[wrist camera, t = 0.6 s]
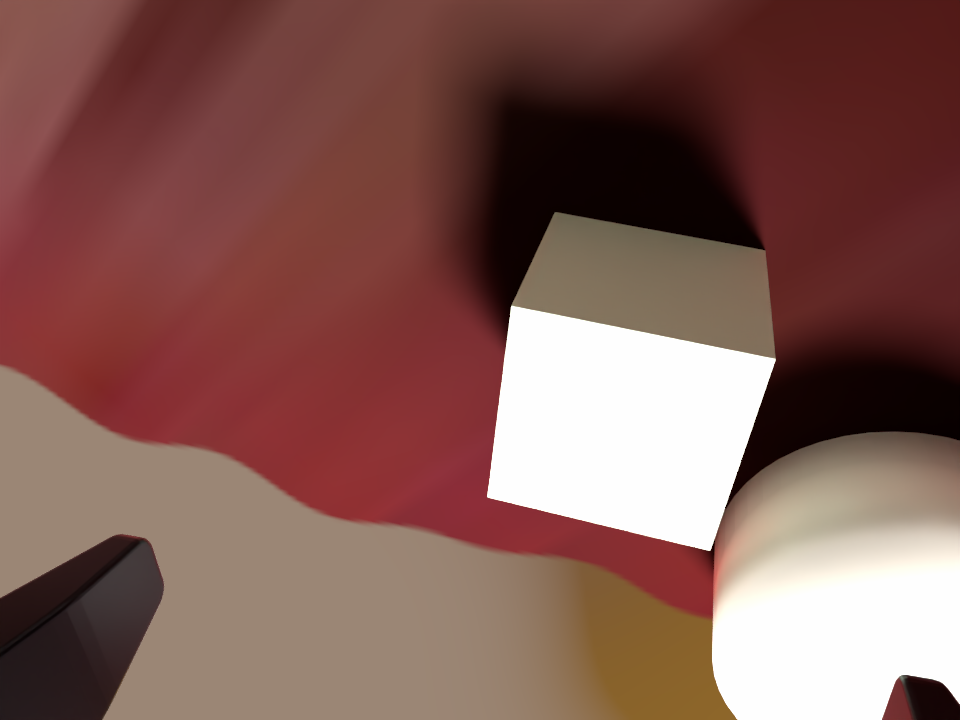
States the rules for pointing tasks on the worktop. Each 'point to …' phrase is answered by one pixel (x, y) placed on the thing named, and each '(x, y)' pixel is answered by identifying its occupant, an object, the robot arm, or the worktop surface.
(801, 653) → the cream tin
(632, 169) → the worktop surface
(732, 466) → the white cube
